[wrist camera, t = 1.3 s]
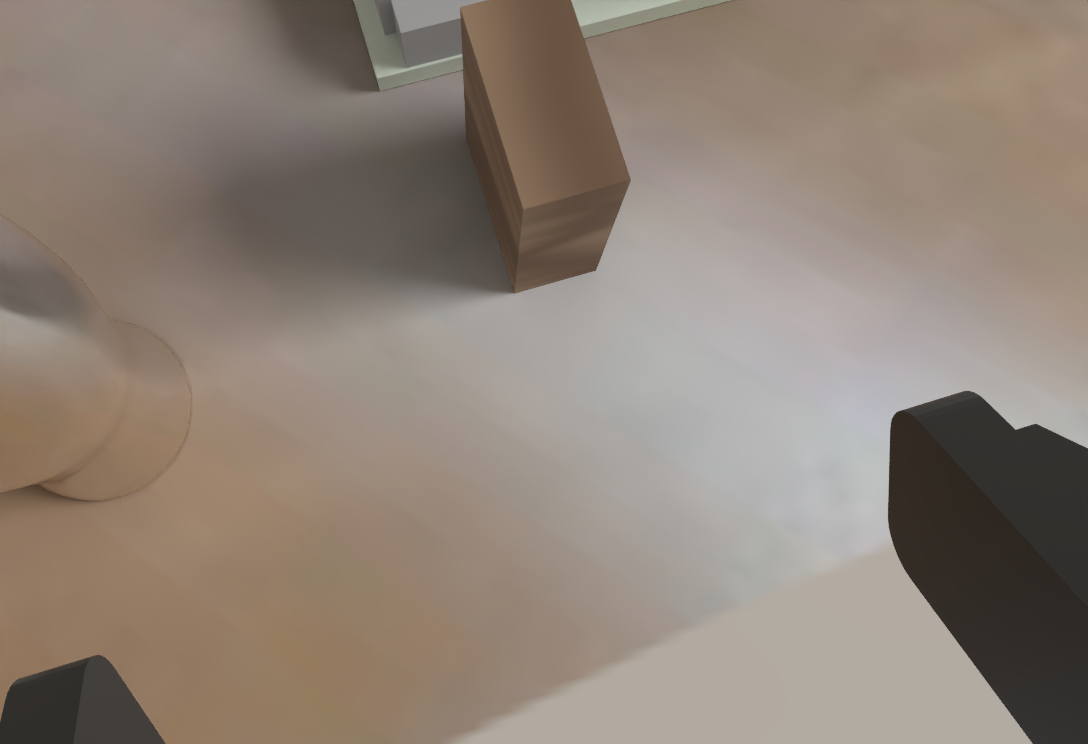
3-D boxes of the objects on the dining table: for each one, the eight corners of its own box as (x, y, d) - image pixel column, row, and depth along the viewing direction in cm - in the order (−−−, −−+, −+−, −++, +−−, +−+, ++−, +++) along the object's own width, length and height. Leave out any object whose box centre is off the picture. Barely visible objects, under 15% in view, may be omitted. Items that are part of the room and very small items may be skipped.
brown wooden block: (514, 293, 36) (523, 209, 27) (466, 137, 37) (459, 7, 28) (595, 270, 36) (630, 179, 28) (546, 116, 37) (564, -20, 28)
